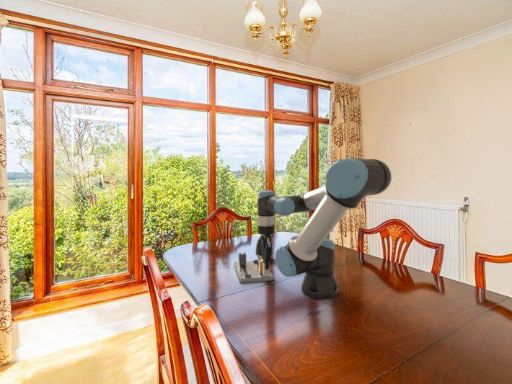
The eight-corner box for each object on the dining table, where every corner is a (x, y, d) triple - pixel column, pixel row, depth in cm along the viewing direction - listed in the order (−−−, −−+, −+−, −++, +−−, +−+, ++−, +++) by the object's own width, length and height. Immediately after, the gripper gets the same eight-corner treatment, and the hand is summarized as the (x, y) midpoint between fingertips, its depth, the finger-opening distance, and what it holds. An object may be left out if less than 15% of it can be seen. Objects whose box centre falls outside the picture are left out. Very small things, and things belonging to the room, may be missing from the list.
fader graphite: (246, 265, 148) (246, 253, 147) (239, 265, 147) (239, 253, 147) (245, 263, 151) (245, 251, 150) (238, 263, 150) (238, 252, 150)
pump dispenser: (273, 262, 159) (273, 235, 158) (255, 262, 160) (255, 235, 158) (273, 256, 169) (272, 231, 168) (255, 256, 170) (255, 231, 169)
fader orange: (267, 273, 136) (267, 260, 135) (259, 274, 135) (259, 261, 135) (265, 271, 139) (265, 258, 138) (258, 272, 138) (258, 259, 138)
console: (274, 280, 133) (273, 274, 133) (239, 283, 130) (239, 276, 130) (262, 263, 156) (262, 258, 156) (233, 266, 153) (233, 260, 153)
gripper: (278, 227, 122) (278, 280, 124) (270, 221, 135) (270, 269, 137) (261, 228, 121) (261, 281, 122) (255, 222, 133) (255, 271, 135)
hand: (266, 275), depth 130 cm, fingers closed
